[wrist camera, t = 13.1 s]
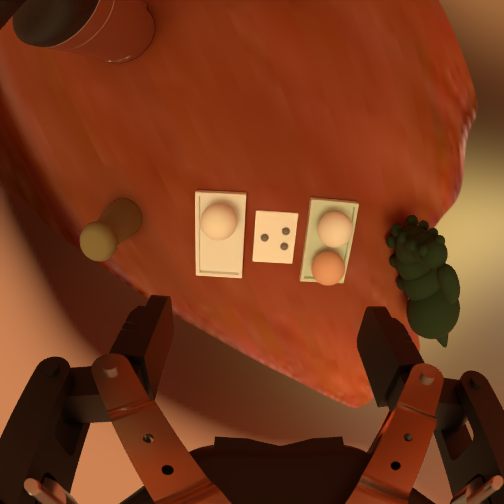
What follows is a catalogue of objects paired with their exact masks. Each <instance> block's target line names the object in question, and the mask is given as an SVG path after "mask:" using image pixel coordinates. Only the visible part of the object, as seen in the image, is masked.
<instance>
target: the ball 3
mask: <svg viewBox="0 0 504 504" xmlns="http://www.w3.org/2000/svg"><path fill="white" fill-rule="evenodd" d="M311 271H312V275H313V277H314V278H315V280H316V281H317V282H319V283H320V284H323V285H334V284H336V283H338V282H339V281H340V280H341V279H342V277H343V276H344V273H345V264H344V261H343V259H342V258H341V256H339V255H338V254H337V253H335V252H332V251H325V252H322V253H320V254H318V255H317V256H316V257H315V258H314V260H313V262H312V267H311Z"/></svg>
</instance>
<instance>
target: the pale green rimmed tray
mask: <svg viewBox="0 0 504 504" xmlns="http://www.w3.org/2000/svg"><path fill="white" fill-rule="evenodd" d="M358 206H359V204H358V203H357V202H356V201H347V200H337V199H326V198H315V197H310V203H309V211H308V219H307V227H306V234H305V242H304V249H303V256H302V263H301V270H300V277H299V278H300V281H307V282H317V281H316V280H315V278H314V277H313V275H312V271H311V267H312V262H313V260H314V258H315V257H316V256H317V255H318V254H320V253H322V252H325V251H332V252H335V253H337V254H338V255H339V256H341V258H342V259H343V261H344V264H345V273H346V269H347V264H348V259H349V254H350V250H351V244H352V239H353V234H354V229H355V223H356V218H357V212H358ZM333 211H337V212H341V213H343V214H345V215H346V216H347V217H348V218H349V219H350V221H351V223H352V226H353V233H352V236H351V238H350V240H349V241H348V242H347V243H346V244H345V245H343V246H341V247H329V246H327V245H325V244H324V243H323V242H322V241H321V240H320V238H319V236H318V232H317V226H318V223H319V221H320V219H321V218H322V216H324V215H325V214H327V213H329V212H333ZM345 273H344V276H343V277H342V279H341V280H340V281H339V282H338V283H344V278H345Z"/></svg>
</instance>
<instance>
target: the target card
mask: <svg viewBox="0 0 504 504" xmlns="http://www.w3.org/2000/svg"><path fill="white" fill-rule="evenodd" d="M297 219H298V213H292V212H278V211H263V210H256V219H255V234H254V248H253V261H255V262H273V263H291V264H292V260H293V252H294V244H295V236H296V228H297Z"/></svg>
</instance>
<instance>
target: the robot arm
mask: <svg viewBox="0 0 504 504" xmlns="http://www.w3.org/2000/svg"><path fill="white" fill-rule="evenodd" d="M147 6H148V5H147V4H146V3H145V2H144V1H143V0H0V30H1V28H2V27H3V26H4V25H5V24H6V23H7V21H8V20H9V19H10V18H11V17H12V16H13V28H14V31H15V33H16V35H17V37H18V38H19V39H20V40H21V41H23V42H24V43H26V44H29V45H33V46H39V47H45V48H51V49H56V50H62V51H67V52H71V53H76V54H80V55H85V56H89V57H93V58H97V59H101V60H104V61H108V62H114V63H123V62H127V61H130V60H132V59H135V58H136V57H138V56H139V55H141V54H142V53H143V52H144V51H145V50H146V48H147V47H148V46H149V45H150V43H151V41H152V39H153V36H154V32H155V24H154V20H153V17H152V15H151V14H150V13H149V12H148V10H147ZM173 334H174V325H173V315H172V305H171V298H170V296H159V295H151V297H150V299H149V301H148V303H147V305H146V306H138V307H137V308H135V309H134V310H133V311H132V312H130V314H129V316H128V318H127V319H126V323H124V325H123V327H122V330H121V331H120V333H119V335H118V337H117V339H116V341H115V343H114V345H113V346H112V348H111V351H110V352H109V354H106V355H103V356H100V357H99V358H97V359H96V360H95V361H94V363H93V364H92V366H89V367H76V368H70V365H69V363H68V362H67V361H66V360H65V359H63V358H61V357H50V358H47V359H44V360H43V361H41V362H40V363H39V364H38V366H37V367H36V369H35V371H34V372H33V374H32V376H31V378H30V380H29V381H28V383H27V385H26V387H25V389H24V391H23V393H22V395H21V397H20V398H19V400H18V402H17V405H16V406H15V408H14V410H13V412H12V414H11V416H10V418H9V420H8V423H7V425H6V427H5V429H4V431H3V433H2V435H1V438H0V504H78V503H77V501H76V500H75V499H74V498H73V497H72V496H71V495H70V491H71V487H72V483H73V479H74V476H75V472H76V469H77V465H78V462H79V458H80V455H81V451H82V448H83V445H84V442H85V438H86V435H87V432H88V429H89V426H90V423H94V422H109V421H111V422H112V424H113V426H114V428H115V430H116V432H117V434H118V437H119V439H120V441H121V443H122V445H123V447H124V449H125V451H126V453H127V454H128V457H129V459H130V461H131V462H132V464H133V466H134V468H135V470H136V472H137V473H138V475H139V477H140V479H141V481H142V482H143V484H144V486H143V487H142V488H140V489H139V490H137V491H136V492H135V493H133V494H132V495H131V496H129V497H128V498H126V499H125V500H124V501H122V502H121V503H120V504H435V503H434V502H432V501H431V500H429V499H428V498H426V497H425V496H424V495H422V494H421V493H420V492H418V491H417V490H416V489H414V488H413V485H414V483H415V480H416V478H417V475H418V473H419V471H420V468H421V466H422V463H423V461H424V457H425V455H426V452H427V449H428V447H429V444H430V441H431V438H432V435H433V432H434V435H435V438H436V441H437V444H438V448H439V451H440V454H441V457H442V460H443V464H444V467H445V470H446V474H447V477H448V481H449V484H450V488H451V492H452V495H453V498H452V499H451V501H450V504H504V410H503V409H502V406H501V404H500V402H499V400H498V398H497V397H496V395H495V393H494V391H493V389H492V387H491V386H490V384H489V382H488V380H487V379H486V378H485V377H484V376H483V375H482V374H480V373H479V372H476V371H467V372H465V373H464V374H463V375H462V376H461V378H460V380H455V379H448V378H443V375H442V373H441V372H440V371H439V369H437V368H436V367H434V366H432V365H430V364H426V363H424V361H423V359H422V357H421V355H420V353H419V352H418V350H417V348H416V346H415V344H414V342H412V339H411V337H410V335H408V332H407V330H406V328H405V327H404V325H403V324H402V323H400V322H399V321H398V320H397V319H396V318H392V317H391V315H390V314H389V312H388V310H387V308H386V307H374V306H369V307H367V308H366V310H365V314H364V317H363V320H362V323H361V327H360V330H359V333H358V337H357V348H358V351H359V354H360V357H361V360H362V362H363V365H364V368H365V371H366V374H367V377H368V380H369V382H370V385H371V388H372V391H373V394H374V397H375V400H376V403H377V406H378V407H384V406H388V407H389V412H388V413H387V415H386V417H385V419H384V421H383V423H382V425H381V427H380V429H379V431H378V433H377V435H376V436H375V438H374V440H373V442H372V444H371V446H370V447H369V449H368V451H367V452H365V451H363V450H361V449H358V448H355V447H352V446H347V445H344V443H343V439H342V437H329V438H313V439H308V440H305V441H301V442H297V443H293V444H288V445H284V446H277V445H273V444H268V443H264V442H259V441H255V440H251V439H247V438H245V439H244V438H228V437H215V442H214V445H210V446H205V447H201V448H198V449H195V450H192V451H190V452H188V451H187V449H186V448H185V446H184V445H183V444H182V442H181V441H180V439H179V437H178V436H177V435H176V433H175V432H174V430H173V429H172V427H171V425H170V424H169V423H168V421H167V419H166V418H165V416H164V415H163V413H162V411H161V410H160V408H159V407H158V405H157V404H156V402H155V397H156V394H157V391H158V387H159V384H160V380H161V377H162V374H163V370H164V367H165V364H166V360H167V357H168V354H169V351H170V347H171V344H172V341H173ZM467 420H468V421H469V423H470V425H471V428H472V430H473V434H474V438H473V441H472V439H471V437H470V434H469V432H468V429H467V427H466V424H465V423H466V421H467Z"/></svg>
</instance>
